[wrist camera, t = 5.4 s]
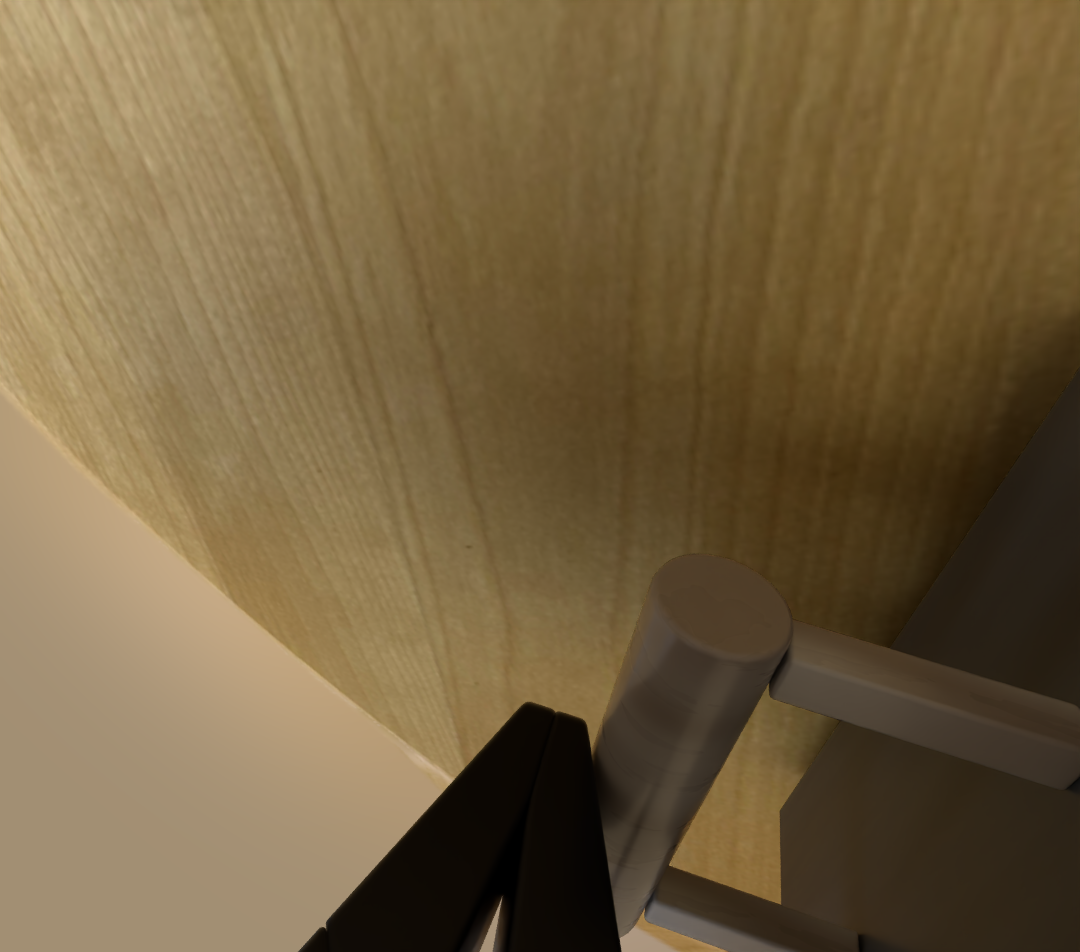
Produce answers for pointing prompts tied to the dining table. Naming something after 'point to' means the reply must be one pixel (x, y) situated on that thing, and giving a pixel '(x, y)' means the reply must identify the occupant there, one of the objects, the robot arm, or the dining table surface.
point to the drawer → (872, 742)
